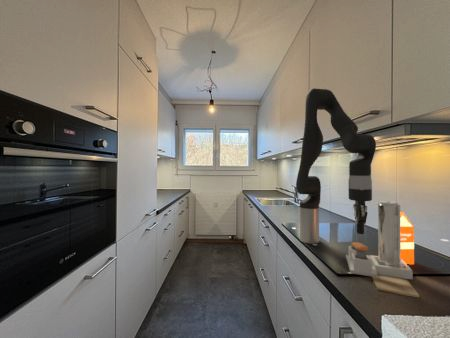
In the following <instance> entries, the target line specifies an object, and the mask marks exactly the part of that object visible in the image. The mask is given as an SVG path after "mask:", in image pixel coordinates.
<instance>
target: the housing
mask: <svg viewBox="0 0 450 338" xmlns="http://www.w3.org/2000/svg"><path fill="white" fill-rule="evenodd" d="M345 259H346V263H347V266H348V269H349V273H350V272H351V273H350V274H354V275H358V276H359V275H360V276H367V277H371V275H381V276H388V277H394V278H401V279H407V280H413V281H414V278H413V277H414V276H413V270H412V268H411V267H410V266H409V265H407V264H406V263H405V262H404V261H403V260H402V259H401V268H398V267H390V266H383V265H379V258H378V255H373V254H370V255H367V254H366V260H365V259H358V258H356V250H353V247H352V246H351V245H348V254H345Z"/></svg>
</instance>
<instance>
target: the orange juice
mask: <svg viewBox="0 0 450 338" xmlns="http://www.w3.org/2000/svg"><path fill="white" fill-rule="evenodd" d="M414 228H415V227H414V226H413V223H412V222H411V221H410V219H409V218H408V217H407V215H406V214H405V212H403V211H400V240H401V259H402V260H403V261H404V262H405V263H406V264H409V265H415V233H414V232H415V229H414Z"/></svg>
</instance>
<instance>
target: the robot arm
mask: <svg viewBox="0 0 450 338" xmlns="http://www.w3.org/2000/svg"><path fill="white" fill-rule="evenodd" d="M318 110H324V111H326V112H327V113H328V114H329V116H330V124H331V127H332V128H333V130H334V131H335V132H336V133H337V135H338V136H339V137H340V138H339V139H340V141H341V143H342V146H343V147H344V149H345V150H346V151H347V152H348V153H350V154H357V157H356V158H355V159H352V160H351V161H349V163H348V164H349V166H348V168H349V169H348V171H349V172H348V173H349V175H348V177H349V178H348V199H349V200H350V201H354V204H353V205H352V207H353V215H354V220H355V223H356V233H357V234H358V235H365V234H364V233H365V224H366V223H367V217H368V213H369V212H368V205H366V202H371V201H372V200H373V179H372V162H373V159H374V156H375V153H376V148H377V142H376V140H375V138H374V136H372V135H371V134H359V133H358V131H359V127H358V125H357V124H356V122H354V121H353V119H352V118H351V117H350V116H349V115H348V114H347V112H345V110H344V109H343V107H342V105H340V102H339V101H338V99H337V98H336V96H335V93H333V91H332V90H330V89H327V88H315V87H314V88H311V89H310V90H309V91H308V92H307V94H306V97H305V115H304V116H305V117H304V120H305V121H304V128H303V129H304V131H303V136H302V137H303V138H302V144H301V155H300V162H299V167H298V173H297V176H296V177H297V178H296V182H295V184H296V185H295V188H296V192H297V193H298V194H299V195H307V197H306V198H304V199H302V200H300V202H299V241H301V242H302V243H303V244H304V243H305V244H313V245H314V244H319V243H320V204H321V194H322V193H321V191H322V187H321V186H322V185H321V184H322V183H321V180H320V178H319V177H318V176H315V175H309V174H310V171H311V169H312V166H313V164H315V162H316V161H317V159H318V158H319V157H320V155H321V153H322V151H323V144H324V136H323V133H322V130H321V128H320V125H319V122H318Z"/></svg>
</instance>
